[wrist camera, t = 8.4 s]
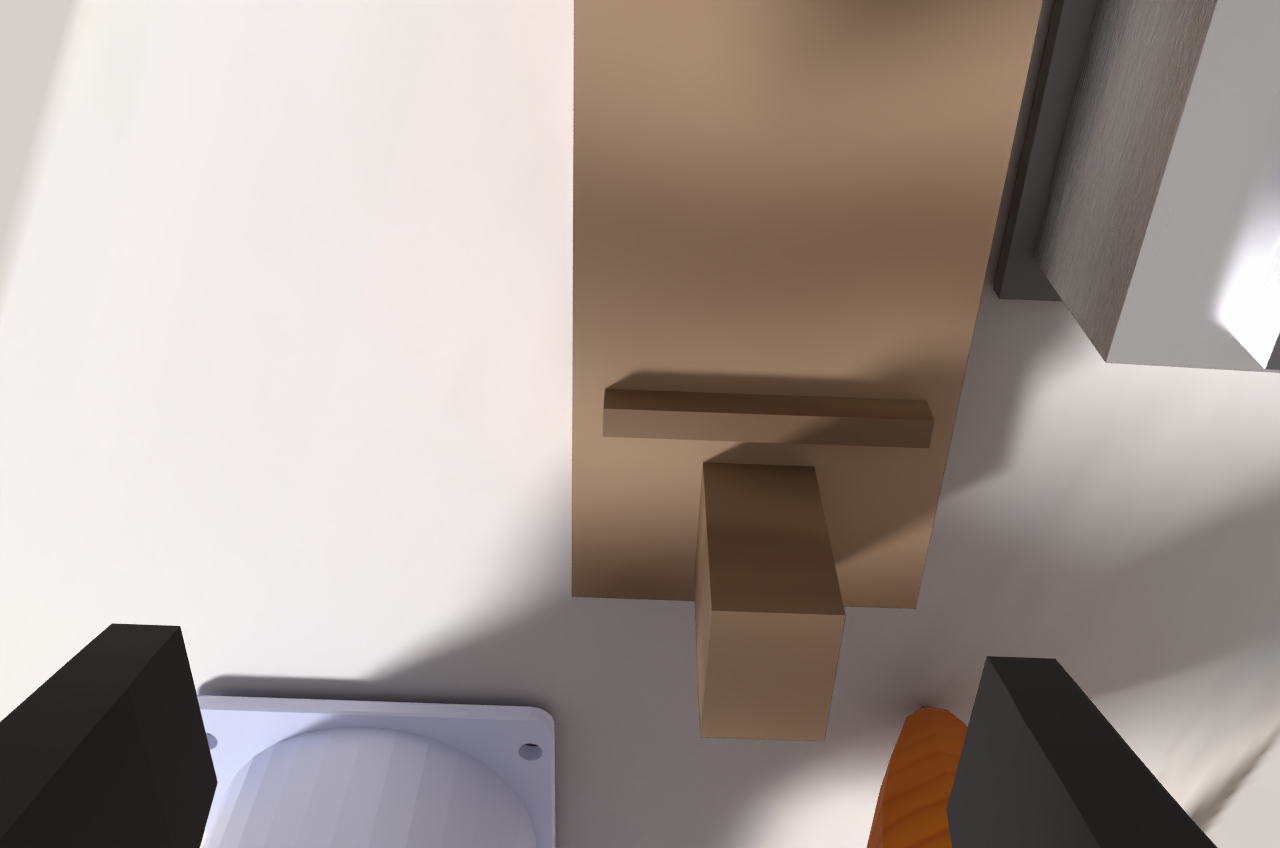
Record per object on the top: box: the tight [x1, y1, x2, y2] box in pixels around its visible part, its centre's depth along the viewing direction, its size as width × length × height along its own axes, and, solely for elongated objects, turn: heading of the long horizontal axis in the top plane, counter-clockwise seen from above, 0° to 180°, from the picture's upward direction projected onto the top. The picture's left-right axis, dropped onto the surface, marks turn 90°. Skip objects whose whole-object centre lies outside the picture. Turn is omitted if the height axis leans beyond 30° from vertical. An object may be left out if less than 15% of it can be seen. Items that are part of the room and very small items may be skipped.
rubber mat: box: [993, 0, 1099, 301], centre depth 18 cm, size 7×6×1 cm
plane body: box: [572, 0, 1043, 741], centre depth 16 cm, size 12×6×6 cm, turn 178°
